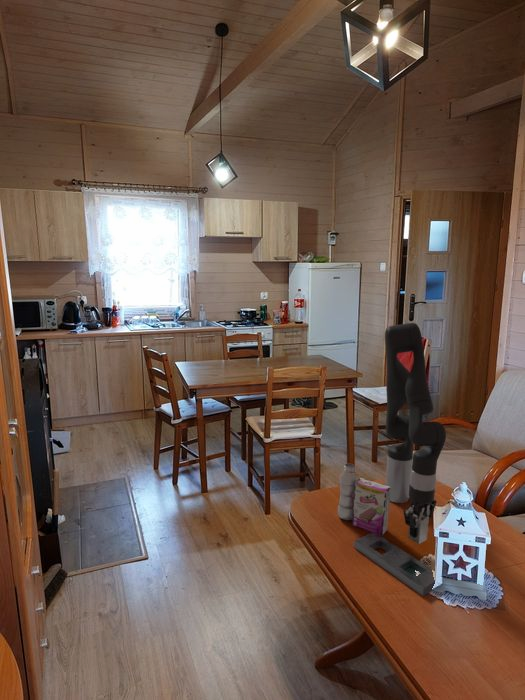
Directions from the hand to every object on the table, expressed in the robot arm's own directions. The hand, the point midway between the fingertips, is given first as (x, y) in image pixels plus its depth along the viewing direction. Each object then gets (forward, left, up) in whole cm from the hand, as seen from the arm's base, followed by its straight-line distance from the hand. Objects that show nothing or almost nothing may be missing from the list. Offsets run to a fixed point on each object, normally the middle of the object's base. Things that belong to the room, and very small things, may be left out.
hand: (417, 533), depth 145 cm
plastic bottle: (+5, -26, -7) cm, 27 cm away
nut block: (0, 0, -2) cm, 2 cm away
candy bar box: (+3, -17, -7) cm, 19 cm away
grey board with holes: (+11, +1, -6) cm, 13 cm away
